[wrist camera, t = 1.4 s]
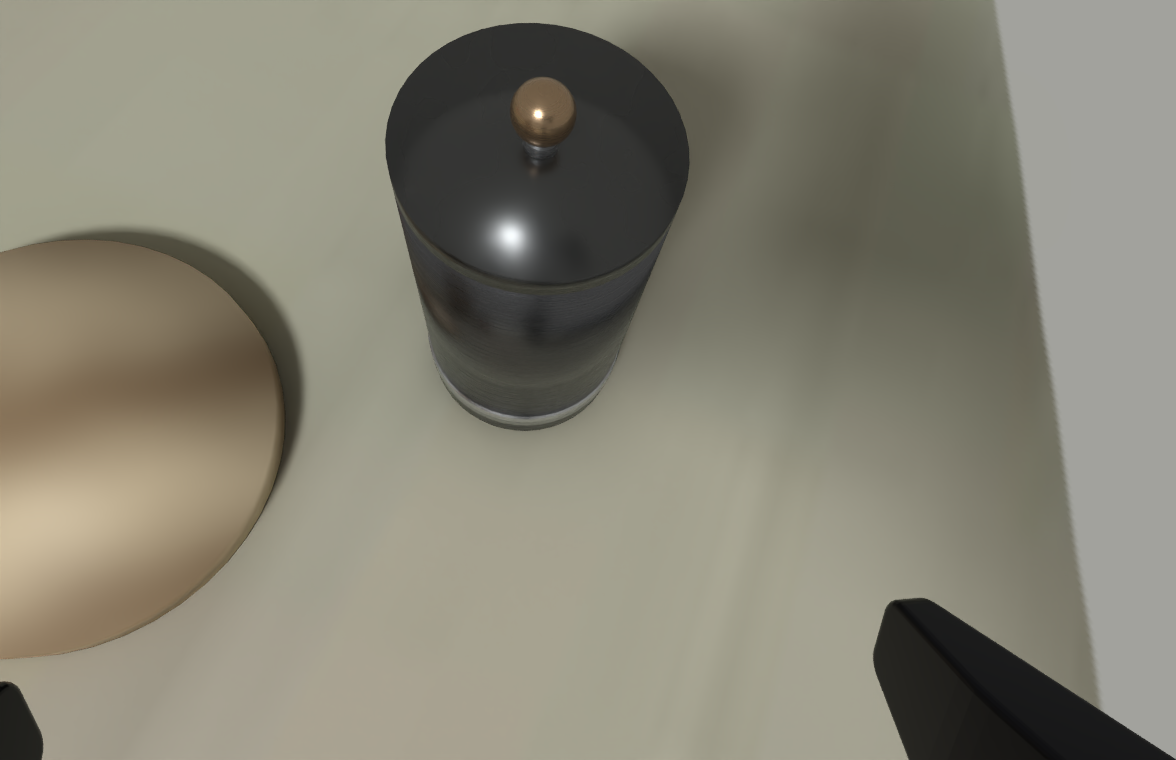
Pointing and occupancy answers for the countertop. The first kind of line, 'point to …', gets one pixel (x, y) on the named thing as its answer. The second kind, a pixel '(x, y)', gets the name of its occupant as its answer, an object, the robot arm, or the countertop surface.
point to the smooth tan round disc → (122, 439)
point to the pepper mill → (532, 211)
